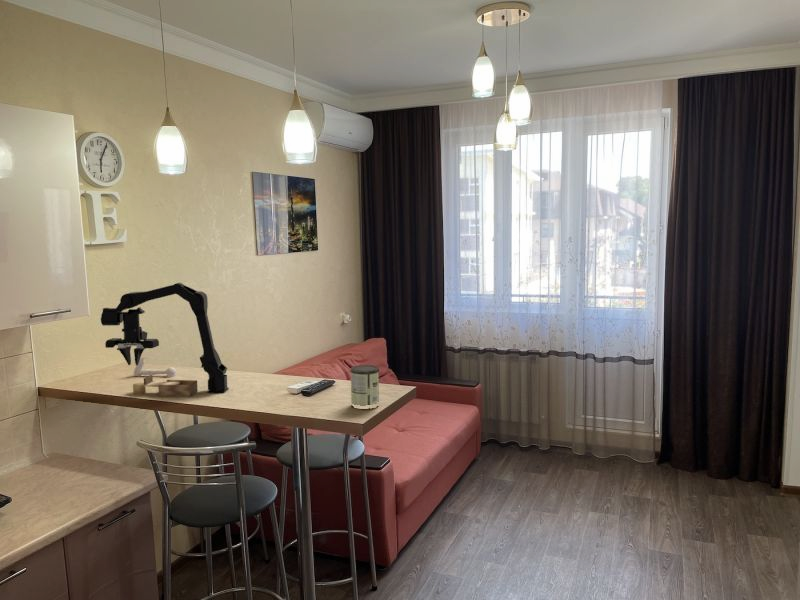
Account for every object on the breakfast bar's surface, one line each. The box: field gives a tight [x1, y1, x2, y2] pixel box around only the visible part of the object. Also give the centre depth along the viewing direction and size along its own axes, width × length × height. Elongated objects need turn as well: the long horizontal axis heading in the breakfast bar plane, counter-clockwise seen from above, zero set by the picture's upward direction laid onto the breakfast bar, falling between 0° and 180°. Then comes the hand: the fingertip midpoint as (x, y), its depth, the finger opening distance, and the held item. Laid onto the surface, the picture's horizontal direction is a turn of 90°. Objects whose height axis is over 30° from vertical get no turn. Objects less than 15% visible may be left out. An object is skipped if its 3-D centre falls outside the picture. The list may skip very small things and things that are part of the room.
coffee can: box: [350, 364, 380, 406], centre depth 219 cm, size 10×10×14 cm
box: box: [158, 379, 198, 398], centre depth 234 cm, size 12×8×4 cm, turn 87°
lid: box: [143, 375, 180, 388], centre depth 234 cm, size 12×6×3 cm, turn 87°
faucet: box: [132, 356, 177, 378], centre depth 262 cm, size 4×18×10 cm, turn 90°
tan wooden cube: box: [132, 382, 147, 395], centre depth 235 cm, size 4×4×4 cm
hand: (133, 365), depth 234 cm, fingers open, 3 cm apart
